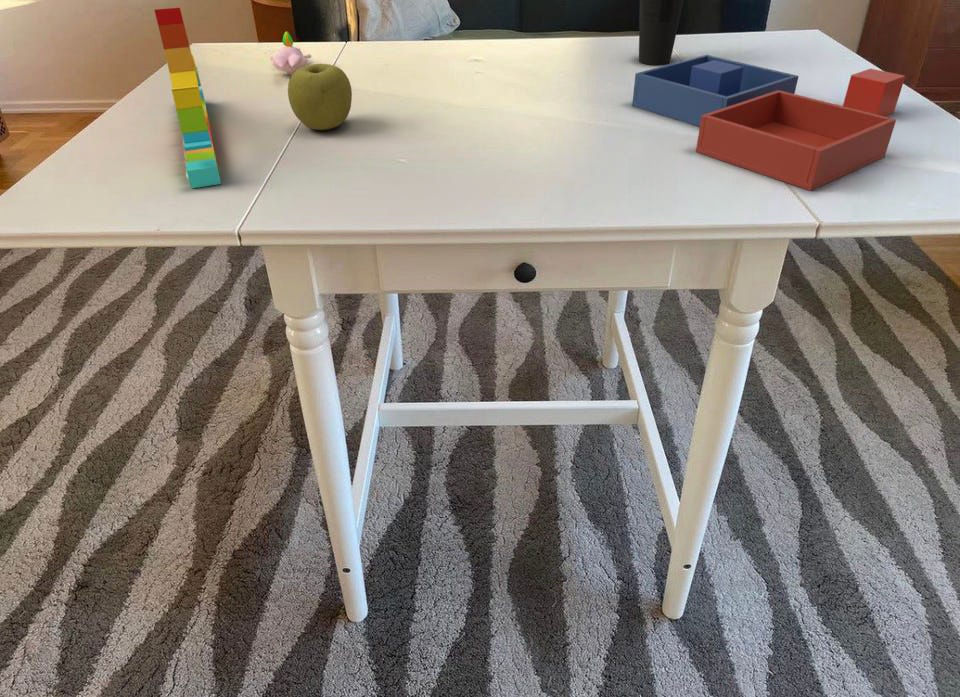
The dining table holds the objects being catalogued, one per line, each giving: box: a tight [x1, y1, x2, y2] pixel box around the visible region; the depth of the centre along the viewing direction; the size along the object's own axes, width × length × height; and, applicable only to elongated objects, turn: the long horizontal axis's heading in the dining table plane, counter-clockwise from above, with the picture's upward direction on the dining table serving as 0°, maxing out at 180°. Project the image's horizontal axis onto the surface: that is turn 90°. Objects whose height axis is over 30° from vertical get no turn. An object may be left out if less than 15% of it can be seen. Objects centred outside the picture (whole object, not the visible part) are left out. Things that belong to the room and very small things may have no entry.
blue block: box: [689, 60, 744, 97], centre depth 92 cm, size 4×4×4 cm
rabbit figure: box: [269, 31, 312, 76], centre depth 109 cm, size 6×6×15 cm
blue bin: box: [631, 54, 800, 128], centre depth 93 cm, size 14×14×4 cm
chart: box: [154, 7, 222, 189], centre depth 83 cm, size 30×3×15 cm, turn 20°
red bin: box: [695, 90, 897, 192], centre depth 79 cm, size 14×14×4 cm
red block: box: [842, 68, 906, 117], centre depth 90 cm, size 4×4×4 cm
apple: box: [287, 63, 353, 131], centre depth 88 cm, size 8×8×7 cm
